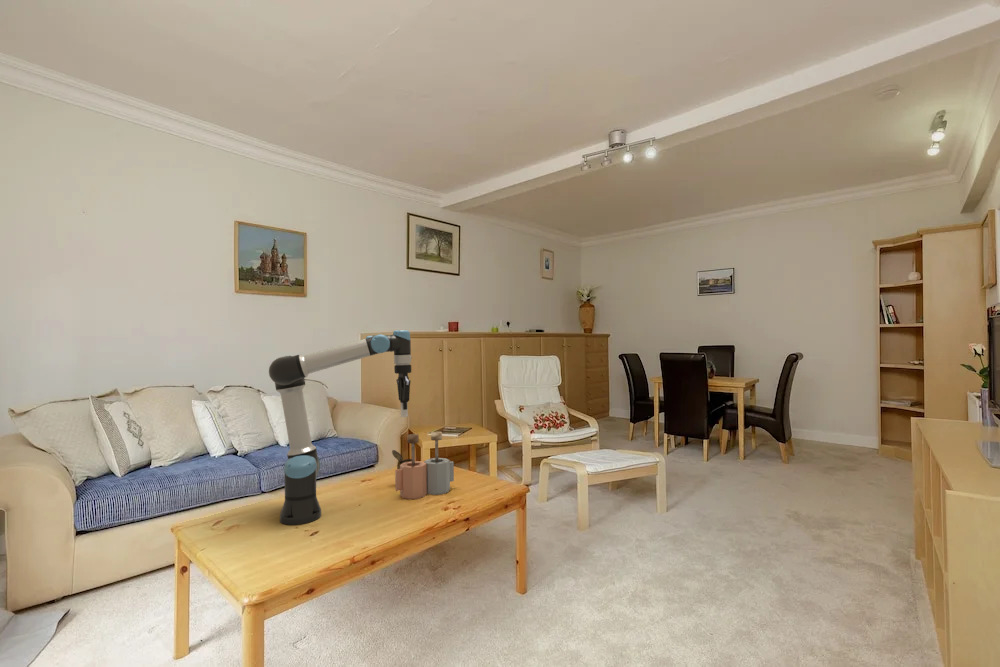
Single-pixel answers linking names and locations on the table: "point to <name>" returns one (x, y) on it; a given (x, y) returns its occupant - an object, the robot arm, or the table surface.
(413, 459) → the taupe plunger
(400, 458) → the wooden mug
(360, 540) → the table surface
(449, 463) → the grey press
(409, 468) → the pink octagonal mug
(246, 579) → the table surface
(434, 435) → the grey plunger
